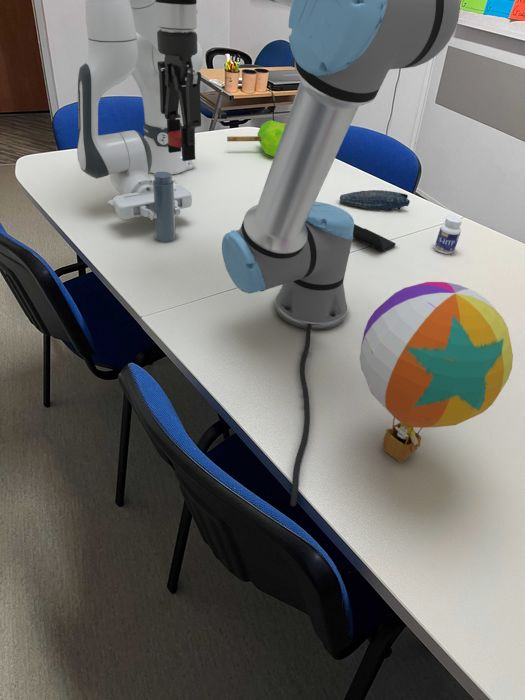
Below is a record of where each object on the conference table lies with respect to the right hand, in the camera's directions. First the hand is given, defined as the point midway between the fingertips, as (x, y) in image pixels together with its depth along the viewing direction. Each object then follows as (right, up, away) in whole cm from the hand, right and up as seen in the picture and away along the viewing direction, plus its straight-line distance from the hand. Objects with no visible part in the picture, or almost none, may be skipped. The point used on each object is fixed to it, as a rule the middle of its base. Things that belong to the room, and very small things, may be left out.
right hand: (181, 155), depth 112 cm
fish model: (+51, +2, +48) cm, 71 cm away
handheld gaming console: (+46, -13, +28) cm, 56 cm away
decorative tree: (+19, +31, +80) cm, 88 cm away
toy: (+39, -58, -29) cm, 76 cm away
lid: (0, +3, -2) cm, 4 cm away
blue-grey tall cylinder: (-8, -13, +22) cm, 27 cm away
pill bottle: (+66, -15, +29) cm, 74 cm away
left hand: (-7, -8, +18) cm, 20 cm away
